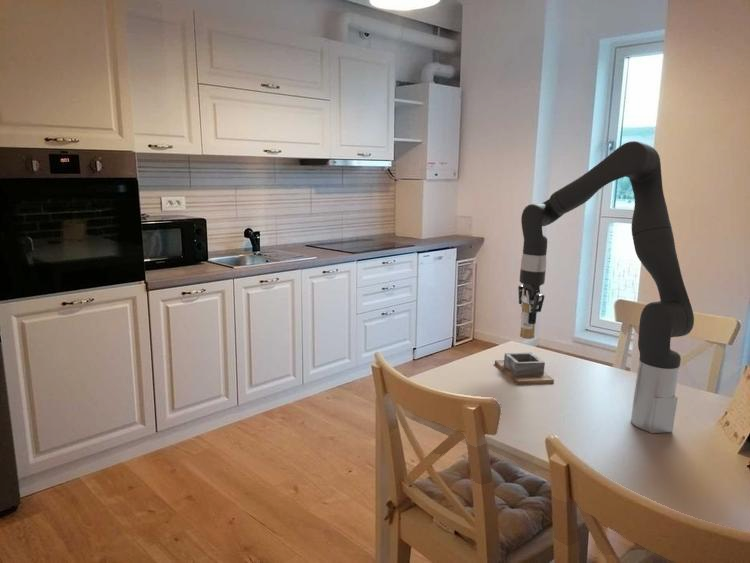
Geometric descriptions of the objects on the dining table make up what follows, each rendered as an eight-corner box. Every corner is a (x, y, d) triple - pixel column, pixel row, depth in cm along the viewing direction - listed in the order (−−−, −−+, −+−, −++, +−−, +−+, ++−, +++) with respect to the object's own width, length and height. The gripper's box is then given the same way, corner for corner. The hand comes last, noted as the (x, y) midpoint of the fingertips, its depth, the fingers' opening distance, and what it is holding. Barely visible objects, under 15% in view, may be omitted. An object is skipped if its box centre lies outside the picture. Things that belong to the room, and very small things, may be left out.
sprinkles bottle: (536, 337, 173) (540, 296, 170) (529, 340, 170) (533, 298, 167) (524, 334, 176) (528, 293, 173) (516, 336, 173) (520, 295, 170)
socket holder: (553, 383, 168) (555, 367, 167) (517, 384, 166) (518, 368, 165) (528, 362, 185) (529, 348, 184) (494, 363, 183) (495, 349, 182)
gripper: (555, 272, 162) (549, 327, 166) (534, 264, 176) (529, 315, 179) (532, 273, 161) (526, 328, 164) (512, 264, 175) (507, 315, 178)
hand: (528, 321), depth 172 cm, fingers closed on sprinkles bottle, 4 cm apart
